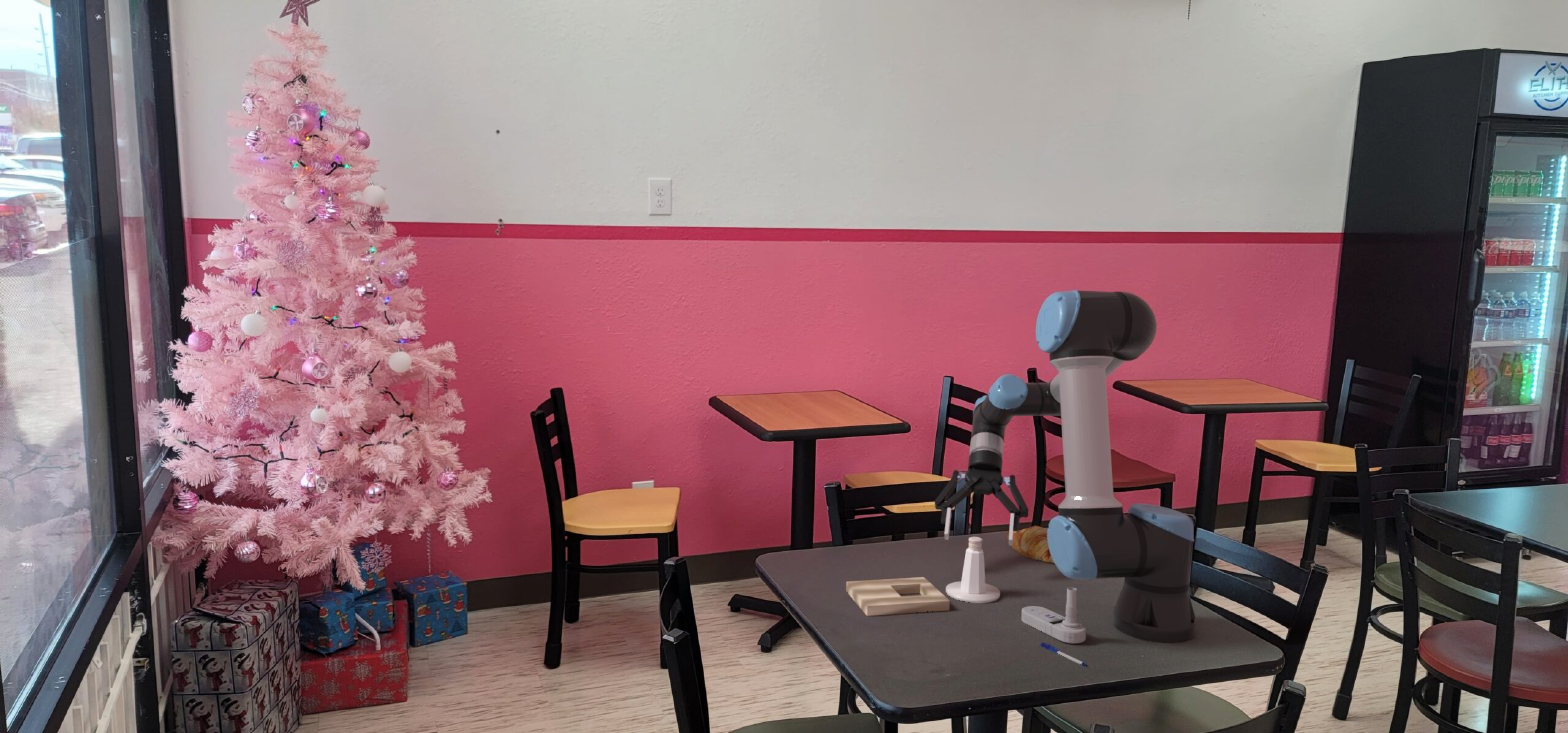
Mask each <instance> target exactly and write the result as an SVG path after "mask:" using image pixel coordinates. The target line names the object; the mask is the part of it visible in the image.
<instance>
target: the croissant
mask: <svg viewBox="0 0 1568 733" xmlns="http://www.w3.org/2000/svg"><path fill="white" fill-rule="evenodd" d="M1047 531H1048V529H1046V528H1044V527H1042V526H1038V525H1035V524H1034V525H1033V526H1030V527H1028V528H1026V527H1025V528H1022V529H1021V530H1020V529H1019V530H1018V531H1013V541H1012V546H1010V547H1011V548H1012V549H1013V550H1014V552H1017V553H1018V554H1020V555H1022V556H1024V557H1026V558H1028V559H1031V558H1032V559H1031V560H1036V561H1040V560H1041V561H1040V562H1043V563H1051V564H1055V563H1054V561H1053V559H1052V557H1051V554H1050V550H1049V546H1048V540H1047ZM1006 537H1007V538H1006V539H1007V540H1008V541H1009V530H1007V531H1006Z"/></svg>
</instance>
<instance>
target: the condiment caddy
mask: <svg viewBox="0 0 1568 733" xmlns="http://www.w3.org/2000/svg"><path fill="white" fill-rule="evenodd" d="M845 592H846V593H847V592H848V593H847V594H848V596H850V598H851V599H852V600H853V601H854V603H855V604H856V605H857V606H858V607H859V608H860V609H861V610H862V612H863V613H864V614H865V615H866V616H867V617H872V616H884V615H885V616H888V615H900V614H901V615H903V614H915V613H916V612H918V613H930V612H932V611H933V612H945V611H950V603H951V602H950V600H949V599H948V597H946V596H945V595H944V594H943V593H942V592H941V591H940V590H939V589H937V587H935V586H934V585H933V584H932V583H931V582H930V581H929V580H928V579H927V578H925V577H923V576H920V577H917V576H916V577H905V578H887V579H885V578H884V579H869V580H852V581H851V580H850V581H846V583H845ZM911 594H920V595H911ZM902 595H905V596H902ZM927 611H928V612H927ZM916 614H917V613H916Z"/></svg>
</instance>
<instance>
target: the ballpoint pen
mask: <svg viewBox="0 0 1568 733" xmlns="http://www.w3.org/2000/svg"><path fill="white" fill-rule="evenodd" d="M1040 647H1042V648H1044V647H1045V648H1044V649H1045V650H1048V649H1049V650H1048V651H1050V650H1052V651H1053V652H1052V651H1051V652H1052V653H1054V652H1056V653H1055V654H1057V653H1058V654H1057V655H1059V654H1060V655H1059V656H1061V655H1062V656H1061V657H1063V656H1064V658H1065V657H1066V659H1068V660H1070V661H1072V662H1074V663H1077V665H1080V664H1081V665H1080V666H1083V667H1085V666H1086V667H1088V664H1087V663H1086V662H1083V661H1081V660H1079V659H1077V658H1075V657H1073V656H1071V655H1070V654H1066V653H1065V652H1062V651H1060V650H1059V649H1057V648H1056V647H1055V646H1052V645H1051V644H1048V643H1046V642H1041V643H1040Z"/></svg>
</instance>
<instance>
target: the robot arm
mask: <svg viewBox="0 0 1568 733" xmlns="http://www.w3.org/2000/svg"><path fill="white" fill-rule="evenodd" d="M1035 325H1036V326H1035V339H1036V343H1037V344H1038V348H1039V349H1040V350H1041V351H1042V352H1044V353H1046V354H1048V355H1049V364H1050V365H1051V366H1052V367H1053V368H1055V369H1056V371H1057V372H1058V373H1057V374H1056V376H1054V377H1053V378H1052V379H1051V380H1050V381H1048V382H1025V381H1024V379H1022V378H1021V377H1020V376H1017V375H1014V374H1012V373H1011V374H1010V373H1009V374H1008V373H1007V374H1006V373H1005V374H1003V375H1001V376H999V377H998V378H997V380H995V382H993V384H992V385H991V386H990V388H989V389H988V390H989V391H988V392H987V395H986V394H985V395H983V396H982V397H979V398H977V400H976V401H975V402H974V409H973V411H972V428H971V437H970V438H971V439H970V445H969V456H968V465H967V471H966V473H961V472H959V470H957V469H954V470H953V472H952V476H951V479H950V480H949V481H948V482H947V484H946V485H945V486H944V488H943V489H942V491H941V492H940V493H939V494H938V496H937V498H935V500H934V509H936V510H940V511H941V516H940V517H941V518H940V521H941V522H940V523H941V525H945V526H944V533H943V534H944V540H946V541H949V537H950V529H951V519H952V509H953V508H954V507H956V506H957V505H958V504H960V503H961V502H962V501H963V500H964V499H965V498H967V497H969V496H970V495H971V494H973V493H975V495H985V496H990V495H993V496H994V497H995V498H996V499H997V500H999V502H1000V503H1001V504H1002V505H1003V506H1004V508H1005V509H1006V510H1007V512H1009V514H1010V519H1009V530H1008V531H1009V540H1008V547H1011V546H1012V541H1013V531H1018V530H1020V520H1021V518H1028V517H1029V507H1028V505H1027V503H1026V501H1025V500H1024V497H1023V496H1022V493H1021V492H1020V490H1019V488H1018V486H1017V484H1016V476H1015V475H1014V474H1010V475H1009V476H1003V475H1002V472H1003V471H1002V470H1003V457H1004V448H1005V447H1004V445H1005V436H1006V435H1005V433H1006V428H1007V426H1008V425H1009V423H1010V422H1011V421H1012V419H1013V418H1014V417H1030V416H1031V417H1033V416H1034V417H1035V416H1036V417H1042V416H1043V417H1044V416H1045V417H1050V416H1051V417H1060V418H1061V420H1060V422H1061V437H1062V451H1063V452H1062V453H1063V469H1064V487H1065V498H1064V499H1063V500H1062V501H1061V503H1060V504H1059V505H1058V506H1057V507H1058V508H1057V512H1058V515H1056V516H1054V517H1052V519H1051V520H1050V521H1049V523H1048V528H1047V530H1048V531H1047V540H1048V546H1049V550H1050V554H1051V557H1052V559H1053V561H1054V563H1053V564H1055V566H1056V568H1057V570H1058V571H1059V572H1060V573H1061V574H1062V575H1063V576H1065V577H1067V578H1068V579H1072V580H1087V581H1093V580H1095V579H1115V578H1116V579H1118V578H1124V581H1123V585H1122V588H1121V590H1120V593H1119V595H1118V597H1117V600H1116V603H1115V605H1114V607H1113V608H1112V616H1111V617H1112V618H1111V624H1112V625H1113V626H1114V627H1115V628H1116V629H1117V630H1118V631H1121V632H1122V633H1124V634H1127V635H1130V636H1132V637H1135V638H1138V639H1143V640H1146V641H1147V640H1148V641H1153V642H1161V643H1178V642H1184V641H1189V640H1191V639H1193V638H1195V636H1196V634H1197V618H1196V615H1195V611H1194V607H1193V603H1192V598H1191V596H1190V584H1191V571H1192V570H1191V569H1192V559H1193V546H1194V542H1195V538H1194V535H1195V534H1194V532H1195V531H1194V522H1193V520H1192V518H1190V516H1189V515H1187V514H1186V513H1183V512H1181V511H1178V510H1175V509H1171V508H1168V507H1165V506H1161V505H1156V504H1155V505H1154V504H1149V503H1140V502H1139V503H1133V504H1131V505H1129V508H1128V510H1127V512H1128V513H1126V514H1124V507H1123V504H1122V503H1121V502H1120V501H1119V500H1117V499H1116V498H1115V496H1114V486H1113V485H1114V484H1113V471H1112V470H1113V468H1112V467H1113V466H1112V453H1111V438H1110V437H1111V435H1110V421H1109V420H1110V419H1109V407H1108V406H1109V405H1108V404H1109V403H1108V389H1107V378H1108V377H1109V376H1110V375H1111V374H1112V373H1114V372H1115V371H1116V370H1117V369H1119V368H1120V367H1121V366H1122V365H1123V364H1124V363H1125V362H1132V361H1135V360H1137V359H1138V358H1140V356H1142V355H1143V354H1144V353H1145V352H1146V351H1147V350H1148V349H1149V348H1150V347H1151V345H1153V342H1154V340H1155V338H1156V334H1157V318H1156V315H1155V313H1154V311H1153V309H1152V307H1151V306H1150V304H1148V303H1147V301H1146V300H1144V299H1143V298H1141V297H1140V296H1138V295H1136V294H1134V293H1131V292H1127V291H1101V290H1100V291H1097V290H1077V289H1075V290H1074V289H1073V290H1066V291H1064V290H1063V291H1055V292H1053V293H1051V294H1050V295H1049V296H1047V297H1046V299H1045V300H1044V302H1043V303H1042V305H1041V308H1040V309H1039V312H1038V315H1037V317H1036V324H1035ZM963 481H965V484H964V485H963V487H961V488H960V489H959V490H958V491H956V492H955V493H954V494H953V495H952V493H953V492H954V490H955V489H956V488H957V486H958V484H961V482H963ZM1003 484H1005V486H1006V487H1007V488H1008V489H1009V490H1010V493H1011V496H1012V497H1013V499H1014V502H1015V503H1016V504H1015V503H1014V502H1013V501H1012V499H1011V498H1010V497H1009V496H1008V495H1007V494H1006V493H1005V492H1004V491H1003V489H1002V487H1001V486H1002V485H1003ZM951 495H952V496H951ZM950 496H951V497H950ZM1016 505H1017V506H1016Z"/></svg>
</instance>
